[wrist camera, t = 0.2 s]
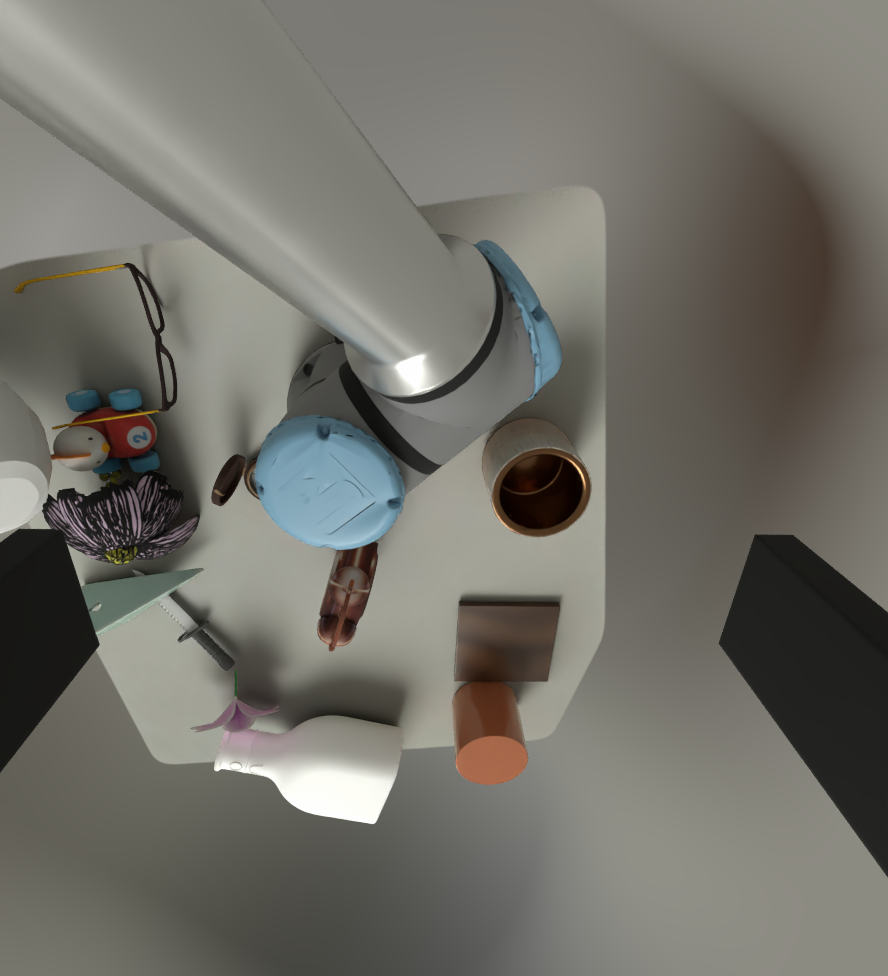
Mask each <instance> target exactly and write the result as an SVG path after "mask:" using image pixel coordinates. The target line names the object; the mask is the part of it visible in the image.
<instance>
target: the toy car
mask: <svg viewBox="0 0 888 976" xmlns="http://www.w3.org/2000/svg"><path fill="white" fill-rule="evenodd" d="M66 400H67V403H68V406H69V408H70V410H72V411H75V412H83V411H86V412H85V413H83V414H81V415H79V416H78V417H76V418H75V419H74V420H73V421H72V423H76V422H82V421H89V420H95V419H102V418H108V417H115V416H121V415H127V414H134V413H140V412H143V411H141V410H139V409H137V408H138V407H140V406H141V405H142V398H141V395H140V392H139V391H138V390H136V389H130V388H129V389H120V390H116V391H113V392H111V393H110V394H109V400H110V403H111V406H112V407H105V408H99V406H100V405H101V401H100V398H99V395H98V393H97V391H95V390H80V391H75V392H72V393H70V394H68V395H67V396H66ZM156 438H157V428H156V425H155V423H154V422H153V420H152V419H151V418H150V417H149V416H148V415H147V414H143V415H136V416H130V417H123V418H117V419H110V420H104V421H97V422H91V423H85V424H78V425H72V426H69V428H67V429H65V430H63V431H62V432H61V433H60V434H59V435H58V436H57V437H56V439H55V441H54V445H53V450H54V455H51V459H52V460H55V459H57V460H58V461H59V462H60V463H61V464H62V465H63V466H65V467H67V468H69V469H71V470H75V471H89V470H93V472H94V473H97V474H107V473H111V472H114V471H116V470H118V469H120V468H121V466H122V462H121V460H120V458H126V457H129V463H130V467H131V469H132V470H133V471H134V472H138V473H144V472H146V471H148V470H149V471H150V470H155V469H157V468H158V467H159V465H160V461H159V458H158V454H157V453H156V452H153V451H148V450H149V449H150V448H151V447H152V446H153V445H154V443H155V441H156Z"/></svg>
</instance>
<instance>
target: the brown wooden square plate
mask: <svg viewBox="0 0 888 976" xmlns="http://www.w3.org/2000/svg"><path fill="white" fill-rule="evenodd" d="M559 611H560V605H559V603H558V602H462V601H459V607H458V623H457V638H456V653H455V669H454V681H542V682H547V681H548V676H549V670H550V664H551V658H552V652H553V646H554V640H555V634H556V628H557V622H558V617H559Z"/></svg>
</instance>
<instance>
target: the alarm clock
mask: <svg viewBox="0 0 888 976" xmlns="http://www.w3.org/2000/svg"><path fill="white" fill-rule="evenodd" d="M377 547H378V543H376V542H372V543H370V544H367V545H364V546H361V547H358V548H353V549H346V550H337V552H336V555H335V559H334V563H333V566H332V570H331V573H330V577H329V580H328V584H327V587H326V591H325V595H324V598H323V602H322V606H321V609H320V613H319V615H320V616H321V619H319V621H318V629H317V631H318V636H319V638H320V639H321V640H322V641H323V642H324V643H325V644H328V645H329V651H333V650H334V649H335V646H344V645H346V644H348V643H349V642H350V641H351V640H352V638H353V637H354V635H355V632H356V629H357V628H356V625H357V623H358V621H359V619H360V618H361V617H362V615H363V613H364V610H365V607H366V604H367V601H368V598H369V594H370V591H371V587H372V583H373V579H374V575H375V571H376V566H377V560H378V554H377Z"/></svg>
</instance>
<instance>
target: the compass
mask: <svg viewBox="0 0 888 976" xmlns="http://www.w3.org/2000/svg"><path fill="white" fill-rule="evenodd" d="M257 459H258V457H257V458H255V459H253V460H252V461H251V462H250V463H249V464H248V465H247V467H246V466H245V458H244V457H243V456H241V455H239V454H235V455H234V456H232V457H231V458H230V459H229V460H228V461H227V462H226V463H225V465H224V466H223V468H222V470H221V471H220V473H219V475H218V477H217V479H216V482H215V484H214V487H213V491H212V497H211V499H212V503H214V504H216V505H218V506H222V505H224V504H225V503H226V502H227V501H228V500H229V498H230V497H231V496H232V494H233V493H234V491H235V489H236V487H237V485H238V483H239V481H240V479H241V477H242V476H243V475H244V481H245V485H246V487H247V489H248V491H249V492H250V493H251V494H252V495H253V496H254V497H256V498H257V499H259V500H260V498H259V496H258V493H257V486H256V480H255V468H256V463H257Z"/></svg>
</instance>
